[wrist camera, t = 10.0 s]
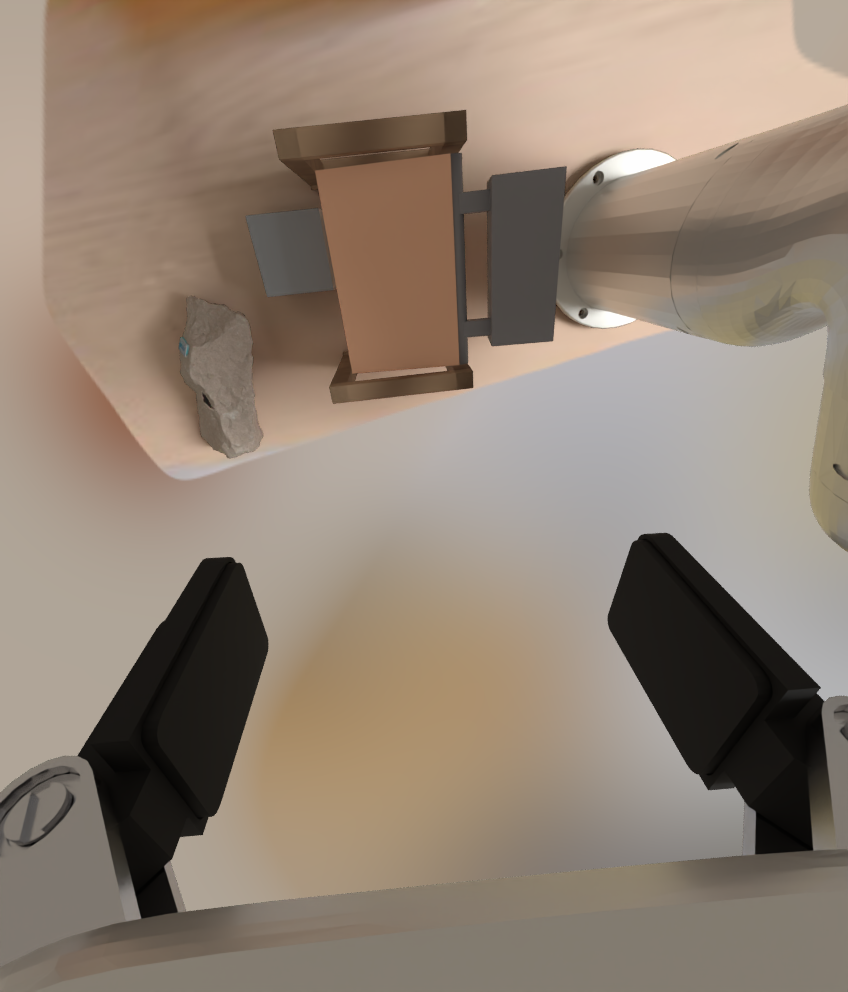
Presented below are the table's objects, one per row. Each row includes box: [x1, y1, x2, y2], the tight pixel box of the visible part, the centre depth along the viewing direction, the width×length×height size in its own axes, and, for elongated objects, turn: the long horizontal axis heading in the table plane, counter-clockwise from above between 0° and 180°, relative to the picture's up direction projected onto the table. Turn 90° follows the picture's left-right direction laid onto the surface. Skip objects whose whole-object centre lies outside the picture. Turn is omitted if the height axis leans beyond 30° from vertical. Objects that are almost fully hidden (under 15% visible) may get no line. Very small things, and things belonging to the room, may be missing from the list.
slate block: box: [245, 208, 336, 297], centre depth 30 cm, size 5×5×5 cm
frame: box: [273, 110, 473, 404], centre depth 29 cm, size 10×15×10 cm
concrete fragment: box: [179, 296, 263, 458], centre depth 35 cm, size 7×14×6 cm, turn 165°
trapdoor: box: [315, 153, 567, 374], centre depth 26 cm, size 14×12×3 cm
